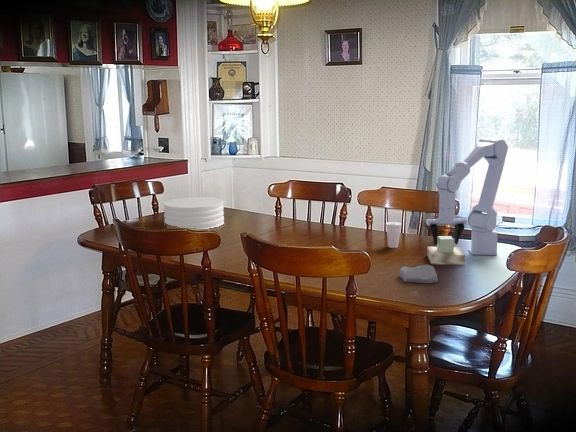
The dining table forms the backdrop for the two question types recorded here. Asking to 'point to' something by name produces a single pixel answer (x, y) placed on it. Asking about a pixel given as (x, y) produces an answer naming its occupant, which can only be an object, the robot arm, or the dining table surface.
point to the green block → (445, 244)
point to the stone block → (418, 274)
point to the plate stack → (194, 212)
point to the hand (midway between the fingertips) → (445, 243)
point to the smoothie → (393, 233)
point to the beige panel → (445, 256)
